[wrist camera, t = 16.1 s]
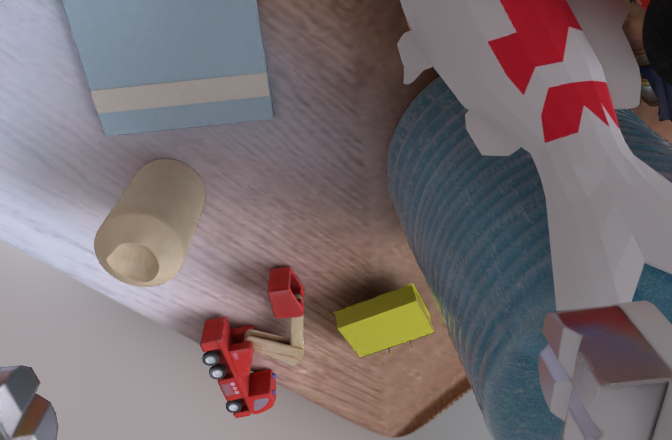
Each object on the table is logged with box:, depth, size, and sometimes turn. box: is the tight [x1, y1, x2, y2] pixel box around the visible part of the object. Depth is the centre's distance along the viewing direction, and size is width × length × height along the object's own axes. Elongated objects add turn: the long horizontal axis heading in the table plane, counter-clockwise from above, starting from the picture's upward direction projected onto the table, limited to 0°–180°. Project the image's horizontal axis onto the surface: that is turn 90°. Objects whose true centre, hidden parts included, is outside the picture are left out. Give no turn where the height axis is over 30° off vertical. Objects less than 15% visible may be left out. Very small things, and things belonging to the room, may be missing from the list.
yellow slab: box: [313, 282, 444, 373], centre depth 47 cm, size 10×9×3 cm
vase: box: [386, 76, 672, 440], centre depth 29 cm, size 16×16×27 cm
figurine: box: [621, 0, 672, 122], centre depth 35 cm, size 7×6×15 cm
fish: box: [397, 0, 672, 311], centre depth 23 cm, size 10×26×10 cm
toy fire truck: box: [200, 266, 304, 418], centre depth 47 cm, size 3×14×10 cm
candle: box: [94, 159, 206, 287], centre depth 37 cm, size 6×6×10 cm
